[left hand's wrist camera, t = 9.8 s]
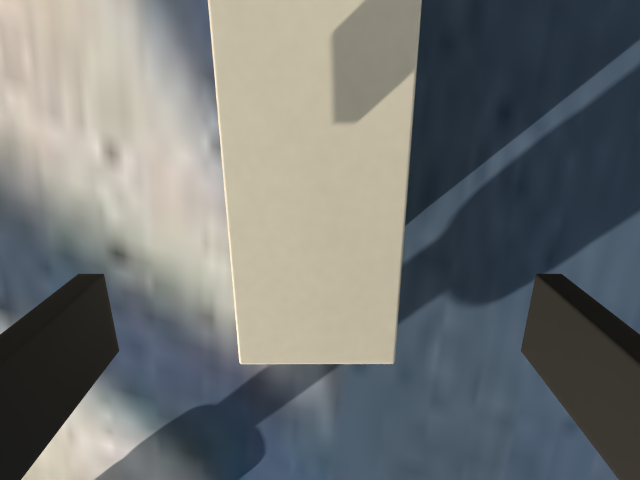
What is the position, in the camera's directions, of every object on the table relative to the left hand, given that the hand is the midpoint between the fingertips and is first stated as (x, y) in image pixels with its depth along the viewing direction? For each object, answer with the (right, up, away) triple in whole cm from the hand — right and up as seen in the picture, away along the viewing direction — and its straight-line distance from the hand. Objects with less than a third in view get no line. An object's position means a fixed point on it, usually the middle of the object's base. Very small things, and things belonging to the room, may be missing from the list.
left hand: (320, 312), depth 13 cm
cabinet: (0, +9, +11) cm, 14 cm away
